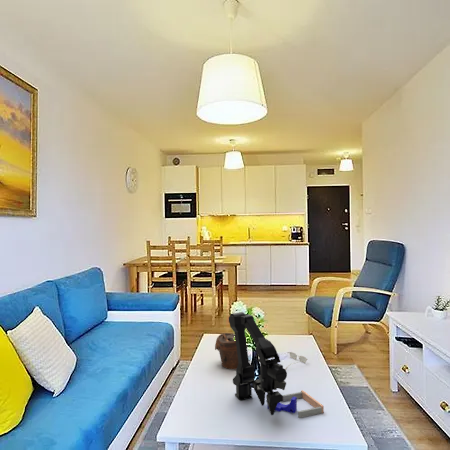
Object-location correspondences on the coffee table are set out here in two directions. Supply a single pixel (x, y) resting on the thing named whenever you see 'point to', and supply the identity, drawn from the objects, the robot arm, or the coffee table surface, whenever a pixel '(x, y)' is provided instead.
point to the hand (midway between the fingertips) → (267, 410)
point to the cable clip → (287, 406)
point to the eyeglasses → (294, 356)
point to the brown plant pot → (227, 350)
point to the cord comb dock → (317, 406)
